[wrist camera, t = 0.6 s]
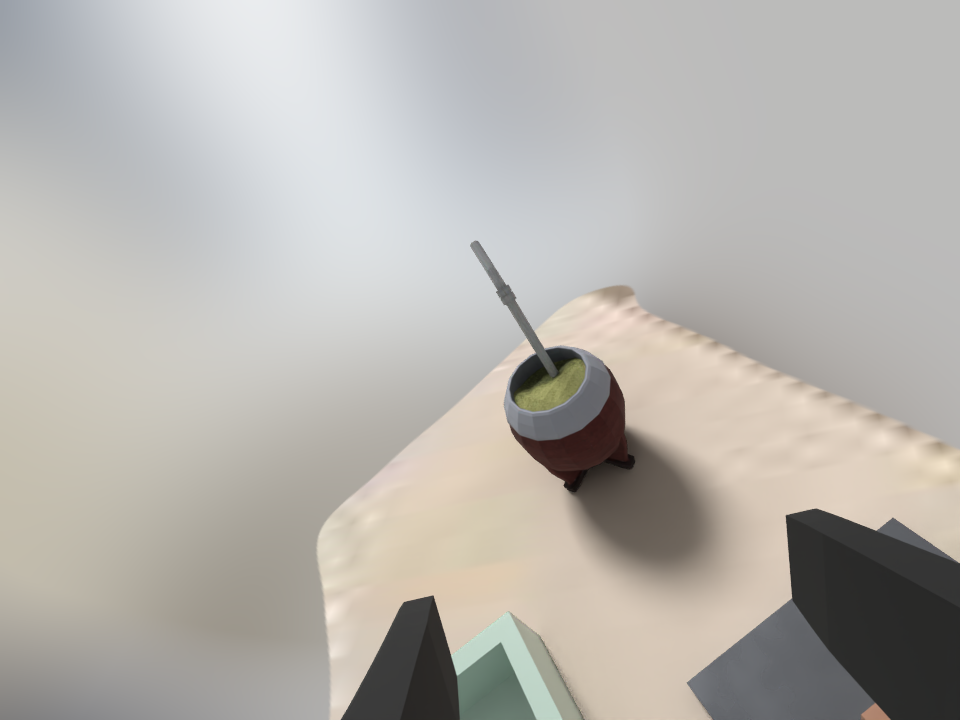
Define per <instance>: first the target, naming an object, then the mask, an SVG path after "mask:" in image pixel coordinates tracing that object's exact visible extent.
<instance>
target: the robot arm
mask: <svg viewBox="0 0 960 720" xmlns="http://www.w3.org/2000/svg"><path fill="white" fill-rule="evenodd" d="M786 524H787V537H788V550H789V562H790V575H791V588H792V601H793V602H794V603H795V605H796V606H797V608H798V609H799V611H800V612H801V613H802V615H803V616H804V618H805V619H806V620H807V622H808V623H809V625H810V626H811V628H812V629H813V630H814V632H815V633H816V634H817V636H818V637H819V638H820V640H821V641H822V642H823V644H824V645H825V646H826V648H827V649H828V650H829V652H830V653H831V654H832V655H833V656H834V657H835V658H836V660H837V661H838V662H839V663H840V664H841V665H842V666H843V667H844V669H845V670H846V671H847V672H848V673H849V674H850V675H851V676H852V678H853V679H854V680H855V681H856V682H857V683H858V684H859V685H860V686H861V688H862V689H863V690H864V691H865V692H866V693H867V694H868V695H869V696H870V698H871V699H872V700H873V701H874V702H875V703H876V704H877V705H878V706H879V707H880V709H881V710H882V711H883V712H884V713H885V714H886V715H887V716H888V717H889V718H890V719H891V720H960V563H957V562H954V561H952V560H949V559H946V558H944V557H941V556H939V555H936V554H933V553H931V552H928V551H926V550H923V549H921V548H918V547H915V546H913V545H910V544H908V543H905V542H903V541H900V540H898V539H895V538H893V537H890V536H888V535H885V534H883V533H880V532H878V531H875V530H872V529H870V528H867V527H865V526H862V525H860V524H857V523H855V522H852V521H849V520H847V519H844V518H842V517H839V516H836V515H833V514H831V513H828V512H825V511H822V510H819V509H812V510H807V511H803V512H798V513H794V514H790V515H786ZM341 720H460V712H459V696H458V681H457V674H456V671H455V667H454V664H453V661H452V657H451V654H450V650H449V647H448V644H447V640H446V637H445V633H444V630H443V627H442V623H441V620H440V616H439V613H438V610H437V606H436V603H435V599H434V596H429V597H424V598H420V599H416V600H411V601H407V602H404V603H403V604H402V606H401V607H400V609H399V611H398V613H397V615H396V617H395V619H394V621H393V623H392V625H391V627H390V629H389V631H388V633H387V635H386V637H385V639H384V641H383V643H382V645H381V647H380V649H379V651H378V653H377V655H376V657H375V659H374V661H373V663H372V665H371V667H370V668H369V670H368V672H367V674H366V676H365V678H364V680H363V681H362V683H361V685H360V687H359V689H358V691H357V692H356V694H355V696H354V698H353V700H352V701H351V703H350V705H349V707H348V709H347V710H346V712H345V714H344V715H343V717H342V719H341Z"/></svg>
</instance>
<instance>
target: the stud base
mask: <svg viewBox="0 0 960 720" xmlns="http://www.w3.org/2000/svg"><path fill="white" fill-rule="evenodd" d="M877 531H878V532H880V533H883V534H885V535H888V536H890V537H893V538H895V539H898V540H900V541H903V542H905V543H908V544H910V545H913V546H915V547H918V548H921V549H923V550H926V551H928V552H931V553H933V554H936V555H939V556H941V557H944V558H946V559H949V560H952V561H954V562H957V561H955V560H954V559H952V558H951V557H950V556H948V555H947V554H945V553H944V552H942V551H941V550H939V549H938V548H936V547H935V546H933V545H932V544H931V543H929V542H928V541H926V540H925V539H923V538H922V537H920V536H919V535H917V534H916V533H915V532H913V531H912V530H910V529H909V528H907V527H906V526H904V525H903V524H901V523H900V522H898V521H897V520H896V519H894V518H892V519H891V520H890V521H888V522H887V523H886V524H885V525H883V526H882V527H881V528H880V529H878V530H877ZM957 563H958V562H957ZM687 684H688V685H689V687H690V688H691V690H692V691H693V692H694V694H695V695H696V696H697V698H698V699H699V701H700V702H701V703H702V705H703V706H704V707H705V709H706V710H707V711H708V713H709V714H710V716H711V717H712V718H713V720H861V714H862V713H864V712H865V711H866V710H867V709H869V708H870V707H871V706H872V705H873V704H875V702H874V701H873V700H872V699H871V698H870V696H869V695H868V694H867V693H866V692H865V691H864V690H863V689H862V688H861V686H860V685H859V684H858V683H857V682H856V681H855V680H854V679H853V678H852V676H851V675H850V674H849V673H848V672H847V671H846V670H845V669H844V667H843V666H842V665H841V664H840V663H839V662H838V661H837V660H836V658H835V657H834V656H833V655H832V654H831V653H830V652H829V650H828V649H827V648H826V646H825V645H824V644H823V642H822V641H821V640H820V638H819V637H818V636H817V634H816V633H815V632H814V630H813V629H812V628H811V626H810V625H809V623H808V622H807V620H806V619H805V618H804V616H803V615H802V613H801V612H800V611H799V609H798V608H797V606H796V605H795V603H794V602H793V601H792V599H791V600H790V601H788V602H787V603H786V604H785V605H783V606H782V607H781V608H780V609H778V610H777V611H776V612H775V613H773V614H772V615H771V616H770V617H768V618H767V619H766V620H765V621H763V622H762V623H761V624H760V625H758V626H757V627H756V628H755V629H753V630H752V631H751V632H750V633H748V634H747V635H746V636H745V637H743V638H742V639H741V640H739V641H738V642H737V643H736V644H734V645H733V646H732V647H731V648H729V649H728V650H727V651H726V652H724V653H723V654H722V655H721V656H719V657H718V658H717V659H716V660H714V661H713V662H712V663H711V664H709V665H708V666H707V667H706V668H704V669H703V670H702V671H701V672H699V673H698V674H697V675H696V676H694V677H693V678H692V679H691V680H689V681H688V682H687Z"/></svg>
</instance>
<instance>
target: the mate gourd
mask: <svg viewBox="0 0 960 720" xmlns="http://www.w3.org/2000/svg"><path fill="white" fill-rule="evenodd" d="M470 246H471V248H472V250H473V251H474V253H475V255H476V256H477V258H478V259H479V261H480V263H481V264H482V266H483V267H484V269H485V270H486V272H487V274H488V275H489V277H490V278H491V280H492V282H493V283H494V285H495V287H496V288H497V290H498V291H497V292H496V293H497V294H498V296H499V297H501V301H502V302H503V304H504V305H507V306H508V308H509V310H510V311H511V313H512V315H513V316H514V318H515V319H516V321H517V322H518V324H519V326H520V327H521V329H522V331H523V332H524V334H525V336H526V337H527V339H528V341H529V342H530V344H531V345H532V347H533V349H534V350H535V352H536V353H534V354H532V355H530V356H529V357H528V358H527V359H525V360H524V361H523V362H522V363H521V364H519V365H518V366H517V368H516V369H515V371H514V372H513V374H512V375H511V377H510V378H509V381H508V386H507V390H506V394H505V399H504V408H505V413H506V417H507V421H508V423H509V425H510V428H511V431H512V433H513V435H514V437H515V439H516V440H517V441H518V442H519V443H520V444H521V445H522V447H523V448H524V449H525V450H526V451H527V452H528V453H529V454H530V455H531V456H532V457H533V458H534V459H535V460H536V461H538V462H539V463H541V464H542V465H543V466H545V467H546V468H547V469H548V471H549V472H550V473H551V474H553V475H555V476H556V477H558V478H560V479H562V480H564V481H565V484H564V487H565V488H567V490H569V491H572V492H576V491H577V489H578V487H579V486H580V484H581V482H582V480H583V478H584V476H585V474H586V473H587V471H588V469H589V468H591V467H593V466H596V465H598V464H601V463H602V462H606V463H610V464H613V465H616V466H619V467H622V468H626V469H631V468H632V467H633V465H634V463H635V459H634V456H631V455H629V454H628V453H627V441H626V438H625V435H624V430H625V401H624V397H623V394H622V391H621V389H620V387H619V385H618V383H617V381H616V379H615V377H614V376H613V374H612V372H611V371H610V369H609V368H608V367H607V366H605V365H604V363H603V361H602V360H600V359H599V358H597V357H595V356H594V355H592V354H591V353H589V352H588V351H585V350H582V349H579V348H575V347H568V346H555V347H550V348H545V349H544V347H543V346H542V344H541V342H540V341H539V339H538V337H537V336H536V334H535V332H534V331H533V329H532V327H531V326H530V324H529V323H528V321H527V319H526V317H525V316H524V314H523V313H522V311H521V309H520V307H519V306H518V304H517V302H516V301H515V299H516V297H515V295H514V293H513V292H511V289H510V287H509V285H506V284H505V283H504V281H503V279H502V278H501V276H500V275H499V273H498V272H497V270H496V269H495V267H494V265H493V264H492V262H491V260H490V259H489V257H488V256H487V254H486V253H485V251H484V249H483V248H482V246H481V245H480V243H479V242H478V241H474V242H473V243H471V245H470Z"/></svg>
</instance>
